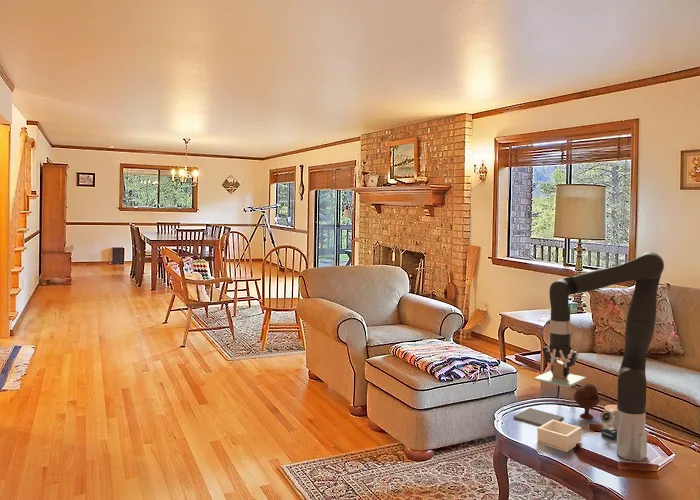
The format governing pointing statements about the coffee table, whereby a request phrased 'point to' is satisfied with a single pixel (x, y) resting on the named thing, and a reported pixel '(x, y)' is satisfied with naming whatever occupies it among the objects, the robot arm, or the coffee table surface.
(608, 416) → the watch
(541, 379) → the lid
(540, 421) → the mat
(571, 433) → the cream open storage box
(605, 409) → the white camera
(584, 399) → the ice cream bowl
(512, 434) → the coffee table surface
